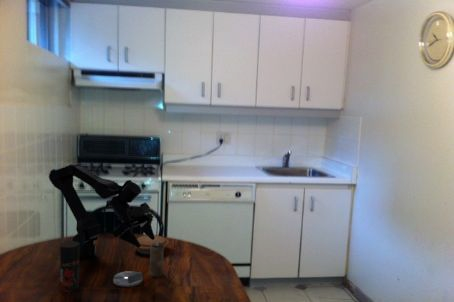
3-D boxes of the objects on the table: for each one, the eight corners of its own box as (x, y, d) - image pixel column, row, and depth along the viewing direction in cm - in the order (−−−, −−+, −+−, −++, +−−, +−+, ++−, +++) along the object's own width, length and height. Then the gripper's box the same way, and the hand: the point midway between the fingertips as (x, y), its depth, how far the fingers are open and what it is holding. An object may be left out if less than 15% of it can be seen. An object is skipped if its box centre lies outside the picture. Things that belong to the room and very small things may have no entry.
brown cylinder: (149, 277, 139) (150, 246, 138) (149, 271, 143) (150, 241, 142) (163, 276, 140) (164, 245, 139) (162, 271, 145) (163, 241, 143)
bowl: (107, 279, 135) (108, 270, 135) (131, 271, 142) (132, 262, 142) (124, 289, 128) (124, 279, 128) (148, 280, 136) (148, 271, 136)
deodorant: (82, 285, 130) (83, 242, 128) (70, 293, 124) (70, 248, 123) (68, 282, 132) (69, 240, 130) (55, 289, 126) (56, 245, 125)
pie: (144, 241, 175) (144, 231, 175) (174, 247, 170) (175, 236, 170) (124, 252, 161) (125, 241, 160) (157, 259, 156) (157, 247, 155)
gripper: (120, 202, 134) (146, 237, 131) (150, 192, 151) (173, 224, 148) (101, 220, 138) (126, 255, 135) (133, 209, 155) (155, 240, 152)
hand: (147, 243), depth 142 cm, fingers open, 9 cm apart
